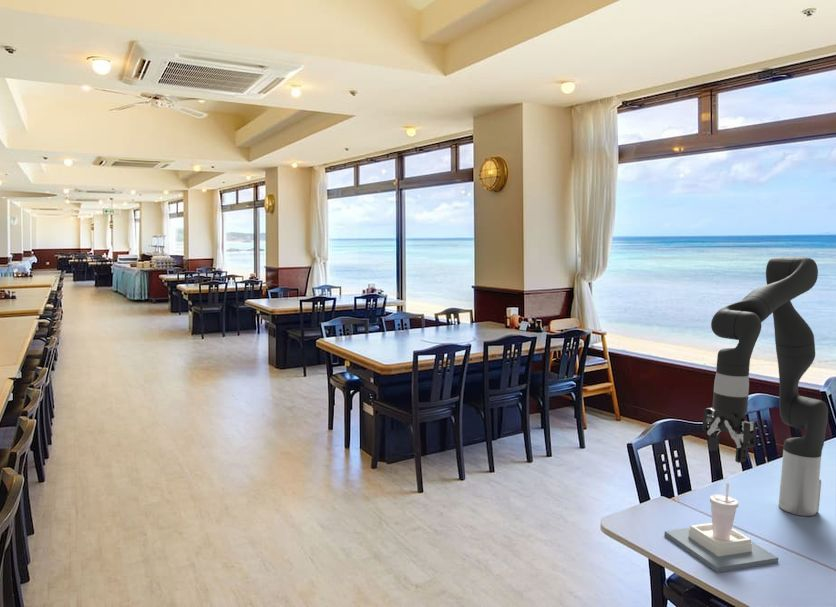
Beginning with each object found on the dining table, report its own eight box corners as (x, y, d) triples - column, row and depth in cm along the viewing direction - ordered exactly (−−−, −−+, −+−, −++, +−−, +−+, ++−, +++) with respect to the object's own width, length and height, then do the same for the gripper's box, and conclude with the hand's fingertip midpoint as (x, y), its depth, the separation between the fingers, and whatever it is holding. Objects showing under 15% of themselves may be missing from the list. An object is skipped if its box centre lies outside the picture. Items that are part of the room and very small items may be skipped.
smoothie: (739, 544, 143) (743, 489, 142) (710, 541, 145) (715, 486, 143) (730, 532, 149) (735, 479, 148) (703, 529, 151) (707, 476, 149)
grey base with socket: (720, 527, 159) (721, 512, 158) (778, 562, 142) (779, 545, 141) (664, 535, 154) (665, 519, 153) (716, 572, 136) (718, 555, 136)
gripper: (767, 398, 138) (762, 465, 139) (721, 384, 152) (716, 445, 153) (742, 400, 136) (736, 468, 137) (696, 385, 149) (692, 447, 151)
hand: (726, 456), depth 145 cm, fingers open, 8 cm apart
